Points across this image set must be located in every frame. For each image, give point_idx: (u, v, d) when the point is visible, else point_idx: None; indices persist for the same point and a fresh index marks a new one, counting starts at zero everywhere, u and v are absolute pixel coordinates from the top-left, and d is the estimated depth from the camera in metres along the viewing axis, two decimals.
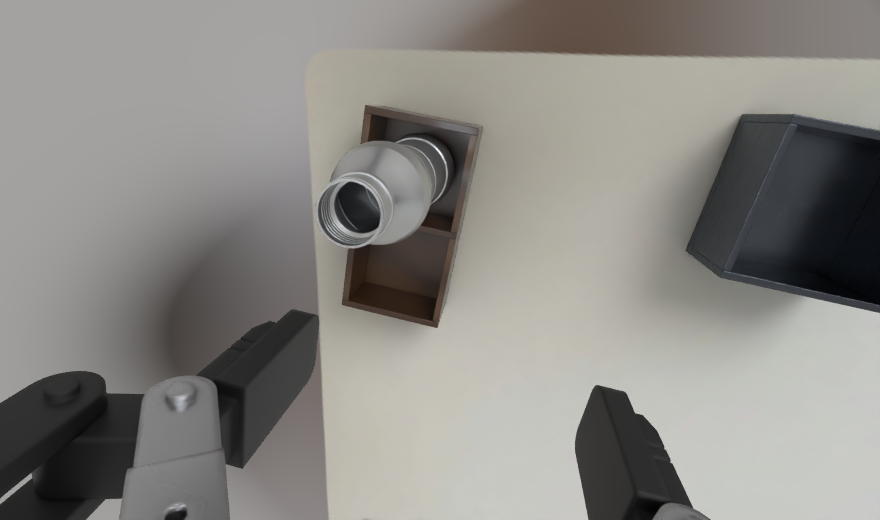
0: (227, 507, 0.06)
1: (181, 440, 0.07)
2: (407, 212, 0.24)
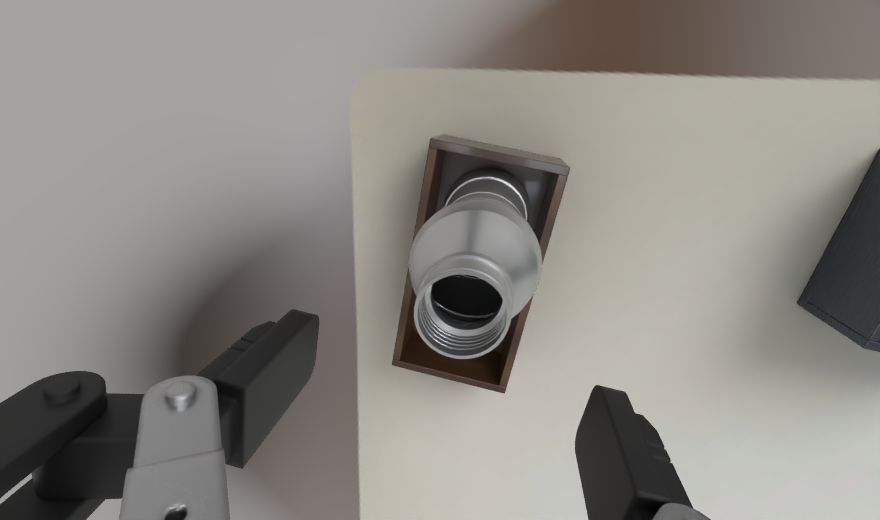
0: (227, 507, 0.06)
1: (181, 440, 0.07)
2: (520, 296, 0.19)
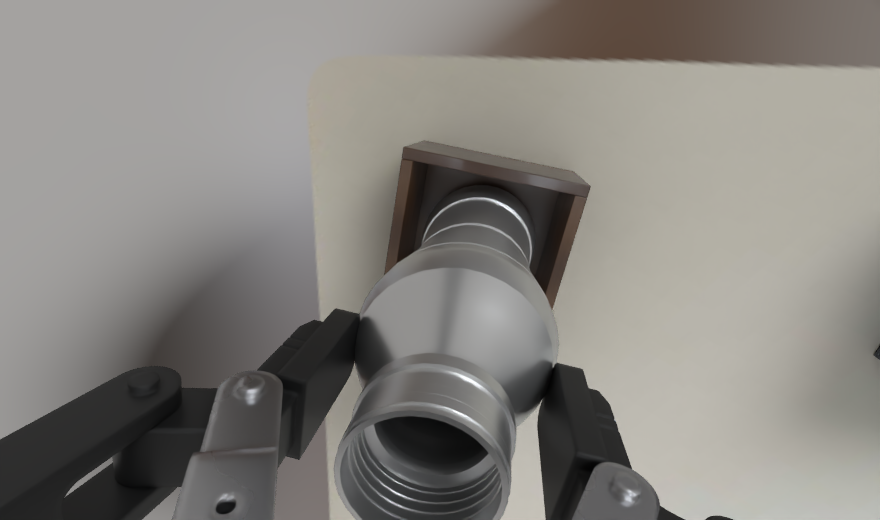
0: (272, 506, 0.06)
1: (244, 432, 0.07)
2: (525, 409, 0.11)
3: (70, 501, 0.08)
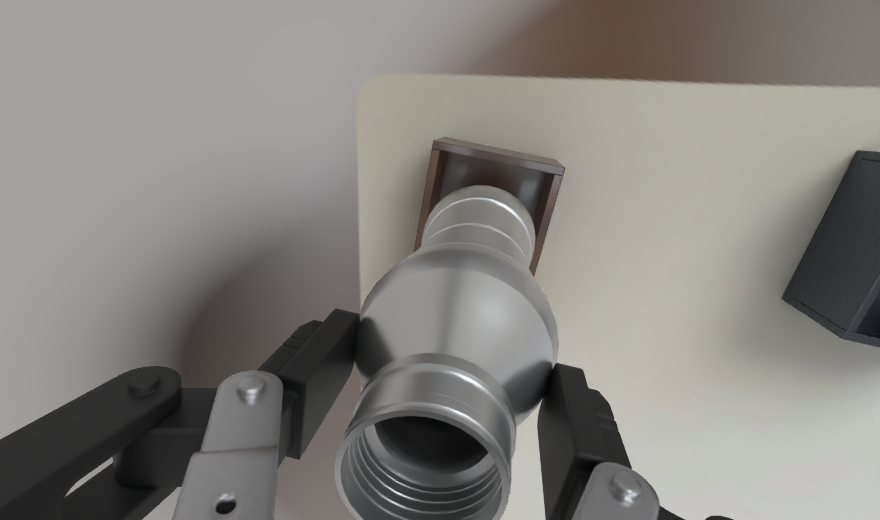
0: (272, 506, 0.06)
1: (244, 432, 0.07)
2: (525, 409, 0.11)
3: (70, 501, 0.08)
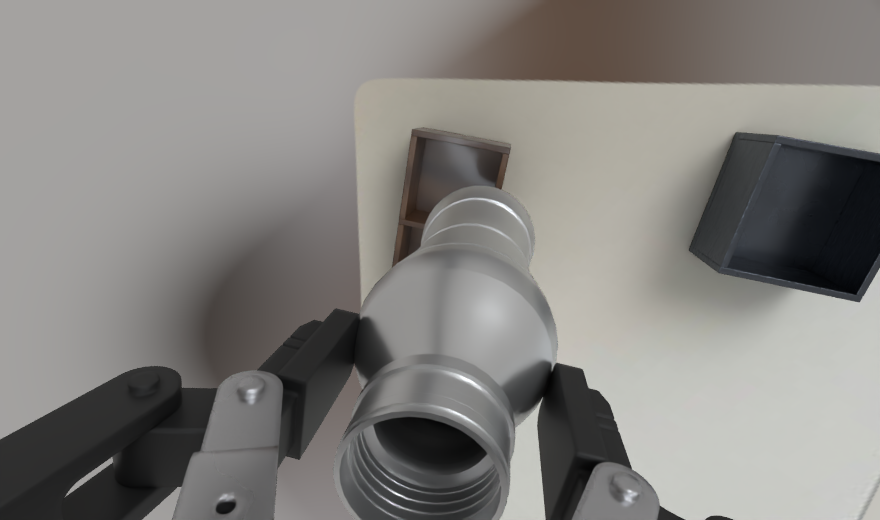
0: (272, 506, 0.06)
1: (244, 432, 0.07)
2: (524, 410, 0.11)
3: (70, 501, 0.08)
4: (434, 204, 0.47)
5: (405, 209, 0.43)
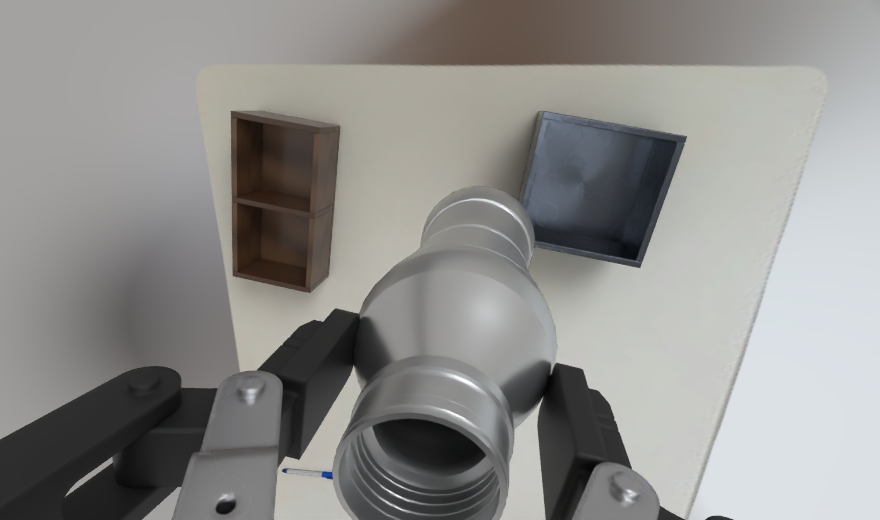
0: (272, 506, 0.06)
1: (244, 432, 0.07)
2: (524, 411, 0.11)
3: (70, 501, 0.08)
4: (278, 184, 0.50)
5: (236, 187, 0.45)
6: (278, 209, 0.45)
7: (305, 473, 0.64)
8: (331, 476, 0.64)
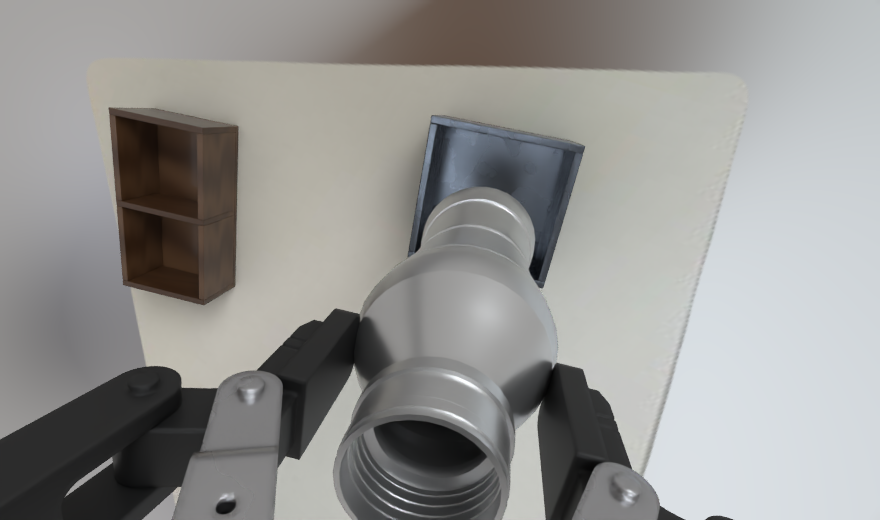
0: (271, 506, 0.06)
1: (244, 432, 0.07)
2: (524, 412, 0.11)
3: (70, 501, 0.08)
4: (177, 187, 0.46)
5: (120, 190, 0.42)
6: (165, 215, 0.42)
7: None
8: None
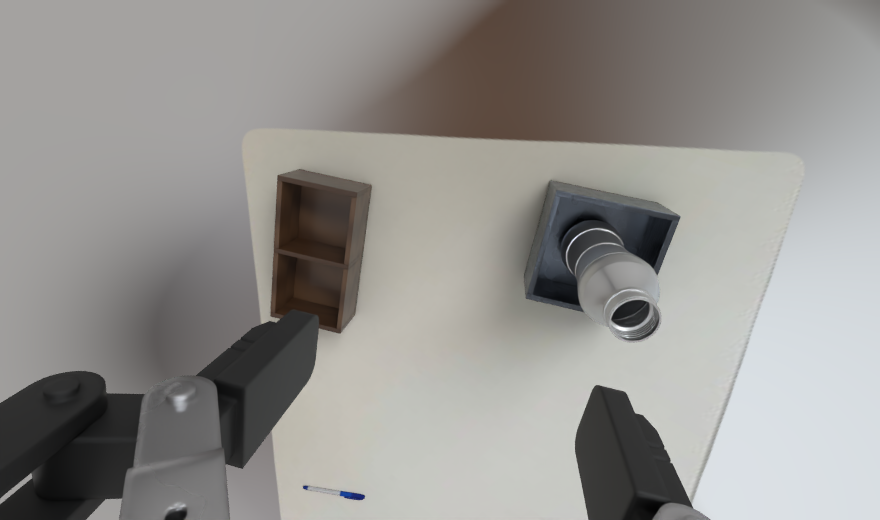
0: (227, 507, 0.06)
1: (181, 440, 0.07)
2: None
3: None
4: (313, 233, 0.55)
5: (278, 240, 0.50)
6: (315, 260, 0.51)
7: (324, 491, 0.70)
8: (349, 496, 0.69)
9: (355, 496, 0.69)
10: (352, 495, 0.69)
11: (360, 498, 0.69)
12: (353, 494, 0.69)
